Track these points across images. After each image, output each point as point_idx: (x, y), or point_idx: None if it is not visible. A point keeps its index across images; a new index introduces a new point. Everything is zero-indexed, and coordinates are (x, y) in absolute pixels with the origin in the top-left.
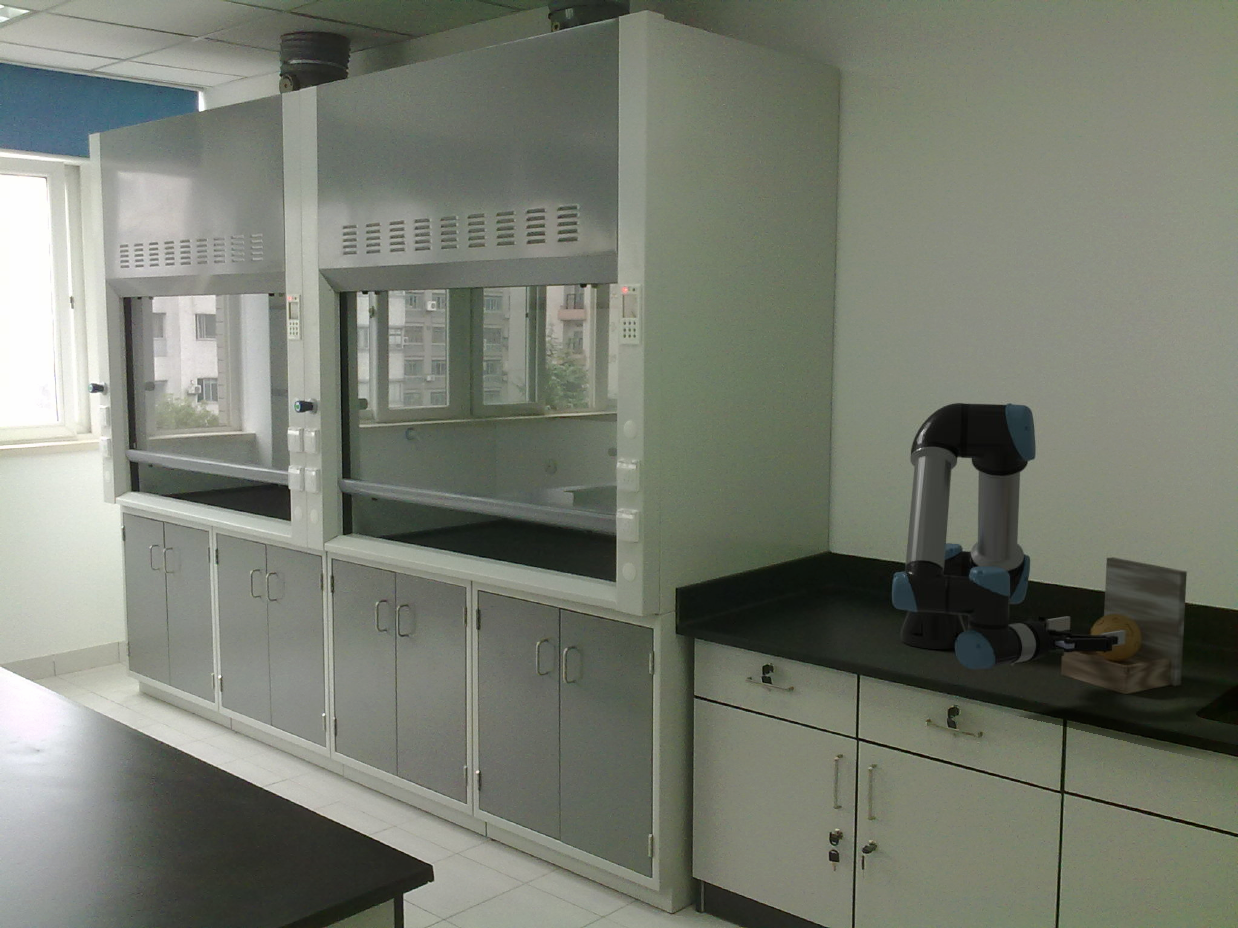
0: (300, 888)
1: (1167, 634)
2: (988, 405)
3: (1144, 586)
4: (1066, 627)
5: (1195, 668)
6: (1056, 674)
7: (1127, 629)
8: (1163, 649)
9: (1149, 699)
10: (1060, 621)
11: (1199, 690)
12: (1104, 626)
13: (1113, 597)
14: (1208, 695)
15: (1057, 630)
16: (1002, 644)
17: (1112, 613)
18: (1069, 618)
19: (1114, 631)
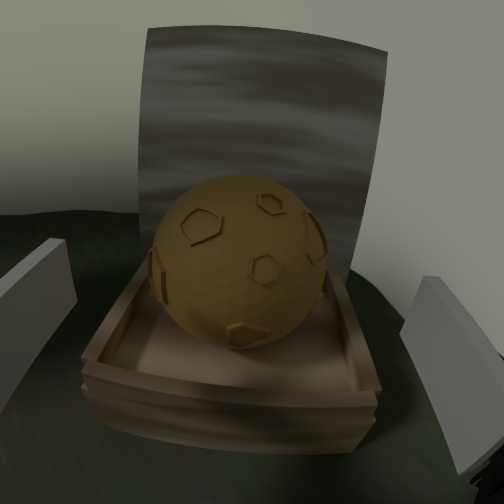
0: None
1: (336, 213)
2: None
3: (272, 85)
4: (62, 306)
5: None
6: (89, 433)
7: (315, 235)
8: None
9: (407, 429)
10: (22, 301)
11: (370, 312)
12: (240, 247)
13: (165, 130)
14: (400, 322)
15: (28, 361)
16: None
17: (163, 176)
18: (62, 250)
19: (455, 317)
